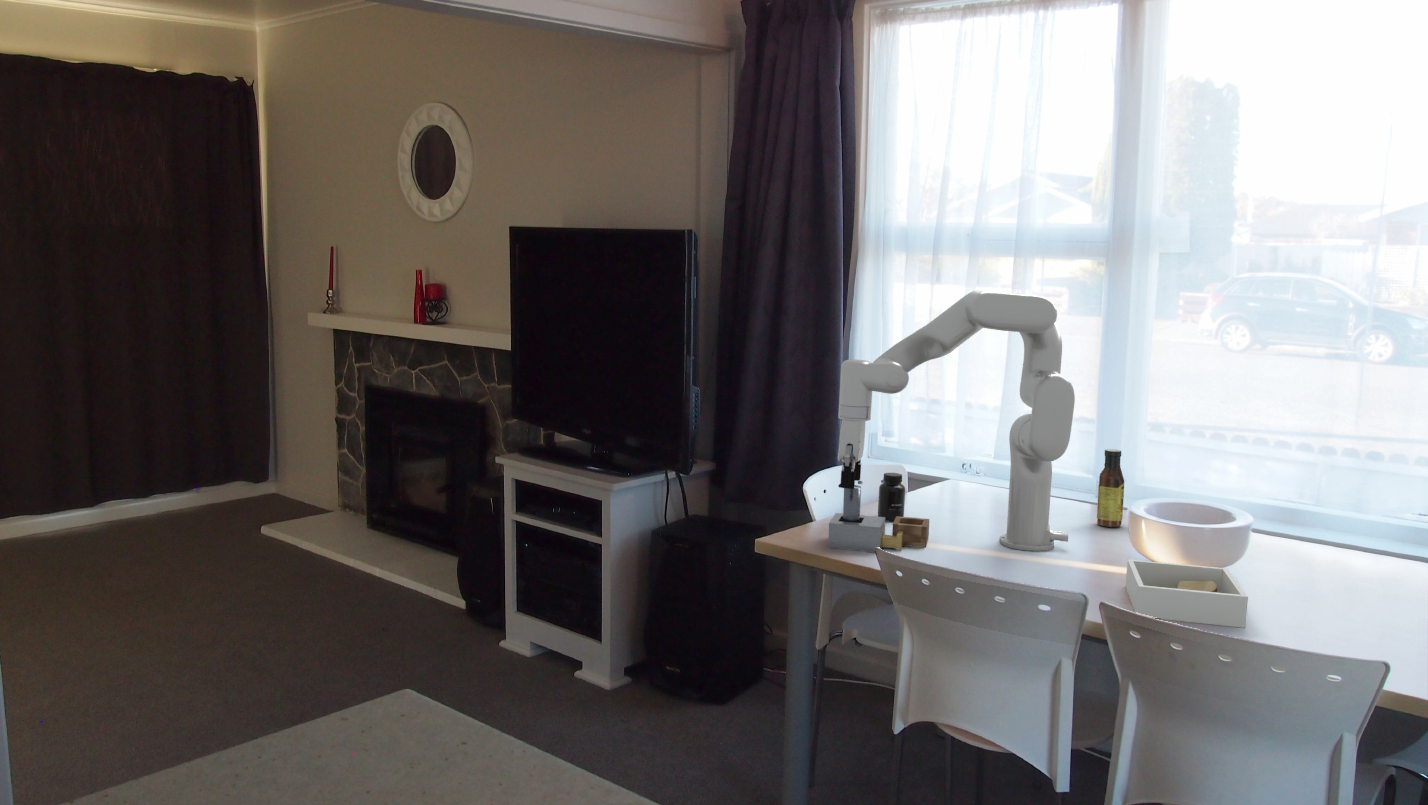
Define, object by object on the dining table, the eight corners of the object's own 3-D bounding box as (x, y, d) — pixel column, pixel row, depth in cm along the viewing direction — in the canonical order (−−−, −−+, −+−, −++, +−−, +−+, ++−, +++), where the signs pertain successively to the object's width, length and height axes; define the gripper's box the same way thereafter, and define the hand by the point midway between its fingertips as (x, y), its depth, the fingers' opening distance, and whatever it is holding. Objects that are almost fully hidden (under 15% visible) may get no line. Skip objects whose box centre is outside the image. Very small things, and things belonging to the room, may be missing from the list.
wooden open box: (928, 539, 249) (929, 519, 248) (925, 547, 241) (926, 527, 241) (895, 536, 251) (896, 516, 250) (891, 544, 243) (892, 524, 243)
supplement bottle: (896, 523, 263) (898, 478, 262) (872, 519, 267) (874, 474, 266) (908, 518, 269) (910, 474, 267) (885, 514, 273) (887, 470, 271)
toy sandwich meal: (1153, 590, 213) (1155, 568, 213) (1224, 603, 205) (1226, 580, 205) (1138, 605, 203) (1140, 582, 203) (1212, 620, 195) (1214, 596, 195)
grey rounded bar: (859, 542, 245) (862, 485, 243) (857, 547, 241) (859, 489, 239) (843, 541, 246) (845, 484, 244) (840, 545, 242) (842, 487, 240)
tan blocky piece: (902, 546, 242) (903, 531, 241) (901, 550, 238) (901, 535, 238) (863, 542, 244) (864, 528, 244) (861, 546, 241) (862, 531, 240)
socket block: (884, 541, 246) (885, 517, 245) (879, 552, 236) (880, 527, 236) (835, 537, 249) (835, 513, 248) (828, 547, 240) (829, 522, 239)
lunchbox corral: (1224, 596, 209) (1227, 568, 208) (1245, 627, 191) (1248, 597, 190) (1125, 587, 214) (1127, 559, 213) (1136, 616, 196) (1138, 586, 195)
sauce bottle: (1125, 528, 262) (1131, 452, 260) (1101, 528, 262) (1106, 452, 260) (1116, 522, 269) (1121, 448, 266) (1092, 521, 269) (1097, 447, 266)
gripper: (844, 406, 248) (840, 475, 250) (832, 416, 232) (828, 489, 234) (875, 409, 246) (870, 478, 248) (865, 418, 230) (861, 493, 232)
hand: (850, 484), depth 241 cm, fingers open, 9 cm apart
